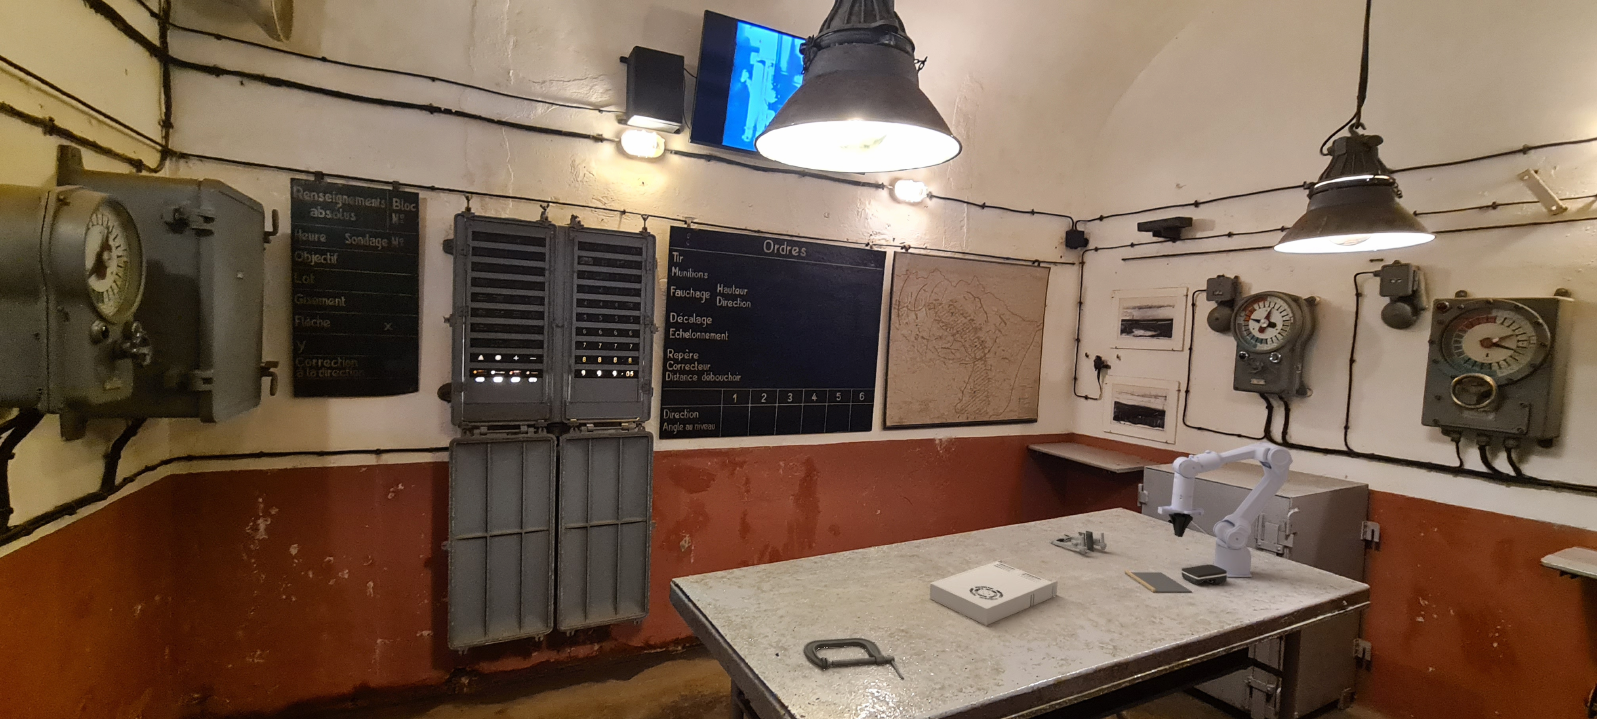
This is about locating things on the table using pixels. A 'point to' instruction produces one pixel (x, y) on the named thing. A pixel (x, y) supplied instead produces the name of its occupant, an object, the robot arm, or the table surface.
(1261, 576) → the table surface
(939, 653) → the table surface
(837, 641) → the c clamp
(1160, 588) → the mat
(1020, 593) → the white flat box
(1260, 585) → the table surface
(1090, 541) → the bike brake
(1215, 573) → the battery charger
